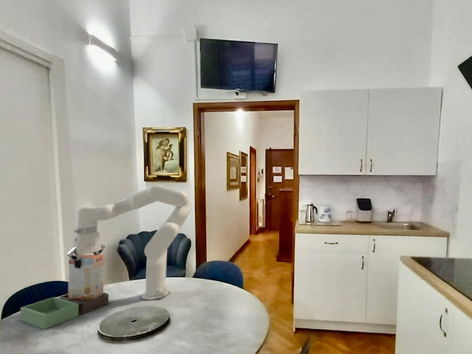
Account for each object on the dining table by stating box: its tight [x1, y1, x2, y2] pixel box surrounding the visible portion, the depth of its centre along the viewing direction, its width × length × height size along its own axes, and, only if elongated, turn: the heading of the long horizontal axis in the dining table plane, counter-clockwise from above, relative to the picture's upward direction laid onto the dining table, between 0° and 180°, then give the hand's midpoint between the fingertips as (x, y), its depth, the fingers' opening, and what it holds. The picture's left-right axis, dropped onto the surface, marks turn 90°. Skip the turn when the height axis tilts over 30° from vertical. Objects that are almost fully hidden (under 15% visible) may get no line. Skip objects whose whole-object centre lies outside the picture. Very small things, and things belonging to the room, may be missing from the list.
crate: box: [58, 292, 110, 315], centre depth 126 cm, size 20×12×5 cm, turn 70°
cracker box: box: [67, 254, 105, 301], centre depth 127 cm, size 14×6×21 cm, turn 84°
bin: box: [19, 296, 79, 330], centre depth 114 cm, size 20×12×6 cm, turn 70°
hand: (86, 265), depth 127 cm, fingers closed on cracker box, 6 cm apart
